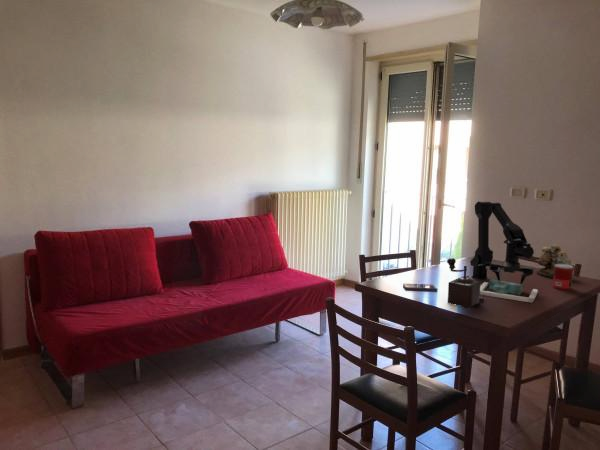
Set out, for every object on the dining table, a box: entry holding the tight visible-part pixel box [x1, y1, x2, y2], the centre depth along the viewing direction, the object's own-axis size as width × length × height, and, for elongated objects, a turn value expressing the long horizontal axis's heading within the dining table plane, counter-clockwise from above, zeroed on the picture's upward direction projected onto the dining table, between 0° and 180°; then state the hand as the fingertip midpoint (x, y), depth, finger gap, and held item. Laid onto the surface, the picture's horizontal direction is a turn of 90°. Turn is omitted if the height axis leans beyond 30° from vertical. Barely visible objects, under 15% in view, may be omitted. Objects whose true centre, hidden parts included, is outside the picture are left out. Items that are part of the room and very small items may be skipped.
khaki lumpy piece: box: [535, 244, 572, 279], centre depth 263 cm, size 18×12×17 cm, turn 40°
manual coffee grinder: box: [446, 257, 481, 308], centre depth 217 cm, size 16×11×18 cm
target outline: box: [480, 281, 539, 304], centre depth 231 cm, size 24×18×2 cm
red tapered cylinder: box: [552, 264, 574, 291], centre depth 241 cm, size 8×8×11 cm
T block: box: [488, 279, 523, 296], centre depth 232 cm, size 14×12×4 cm
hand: (509, 286), depth 238 cm, fingers open, 9 cm apart
